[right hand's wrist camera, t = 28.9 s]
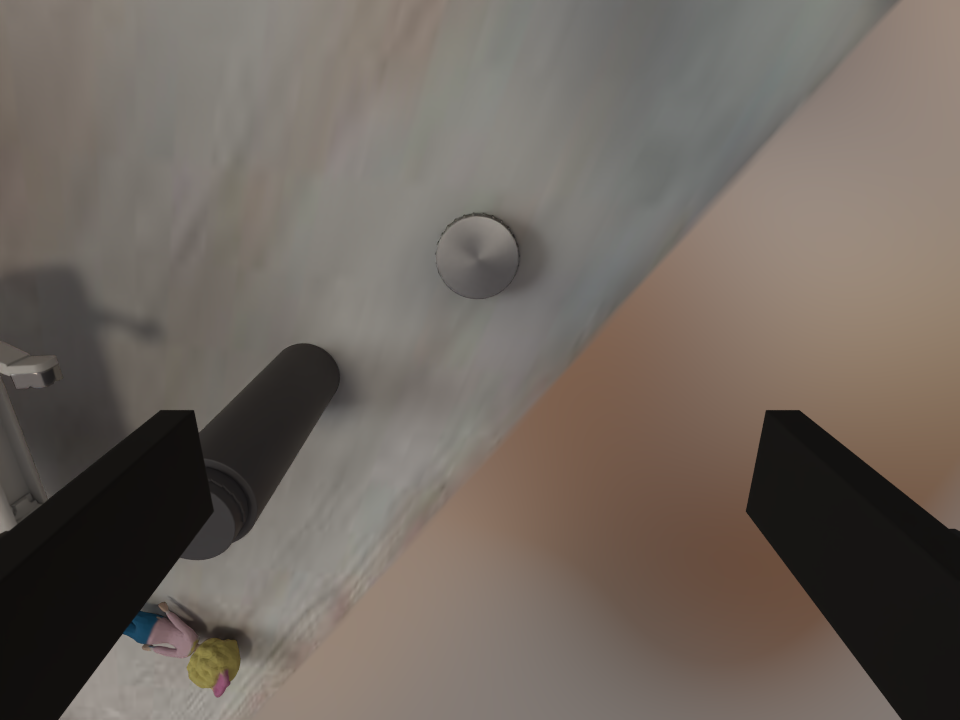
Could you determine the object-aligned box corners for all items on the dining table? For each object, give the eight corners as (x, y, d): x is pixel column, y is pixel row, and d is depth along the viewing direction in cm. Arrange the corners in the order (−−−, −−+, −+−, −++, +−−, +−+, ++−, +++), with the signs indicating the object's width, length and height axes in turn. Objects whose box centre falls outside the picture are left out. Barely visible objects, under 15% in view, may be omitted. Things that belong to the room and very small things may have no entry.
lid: (480, 310, 43) (480, 316, 41) (419, 257, 41) (417, 262, 39) (534, 251, 41) (537, 255, 39) (473, 194, 40) (473, 196, 38)
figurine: (95, 611, 54) (239, 671, 55) (60, 648, 50) (216, 712, 51) (111, 567, 52) (258, 631, 53) (75, 602, 48) (237, 669, 49)
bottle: (306, 330, 43) (182, 455, 25) (353, 379, 45) (267, 529, 27) (259, 370, 44) (108, 516, 26) (306, 416, 46) (194, 585, 28)
